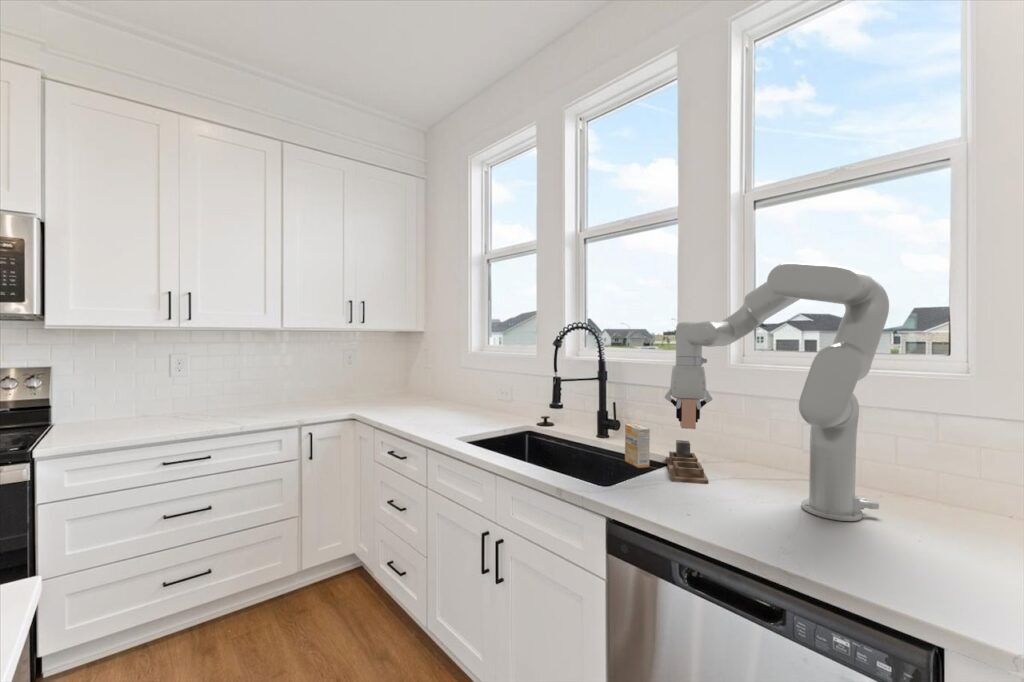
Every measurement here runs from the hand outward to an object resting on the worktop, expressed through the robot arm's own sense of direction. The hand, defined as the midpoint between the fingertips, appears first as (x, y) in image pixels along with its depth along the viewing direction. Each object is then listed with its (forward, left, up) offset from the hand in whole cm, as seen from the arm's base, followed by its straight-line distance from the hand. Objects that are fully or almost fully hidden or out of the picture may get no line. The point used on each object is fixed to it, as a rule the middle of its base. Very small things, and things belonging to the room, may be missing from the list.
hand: (687, 420), depth 145 cm
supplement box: (+15, -10, -18) cm, 25 cm away
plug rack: (0, -6, -17) cm, 18 cm away
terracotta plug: (0, 0, -2) cm, 2 cm away
